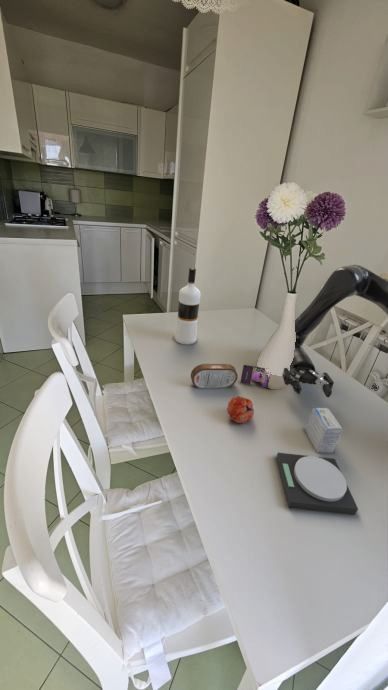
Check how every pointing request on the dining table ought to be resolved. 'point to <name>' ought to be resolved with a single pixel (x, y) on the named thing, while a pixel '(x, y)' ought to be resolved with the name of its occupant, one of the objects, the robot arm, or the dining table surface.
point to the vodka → (188, 311)
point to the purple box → (253, 375)
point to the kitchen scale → (314, 484)
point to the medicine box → (323, 430)
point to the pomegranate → (240, 409)
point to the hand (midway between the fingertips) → (314, 393)
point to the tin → (214, 375)
